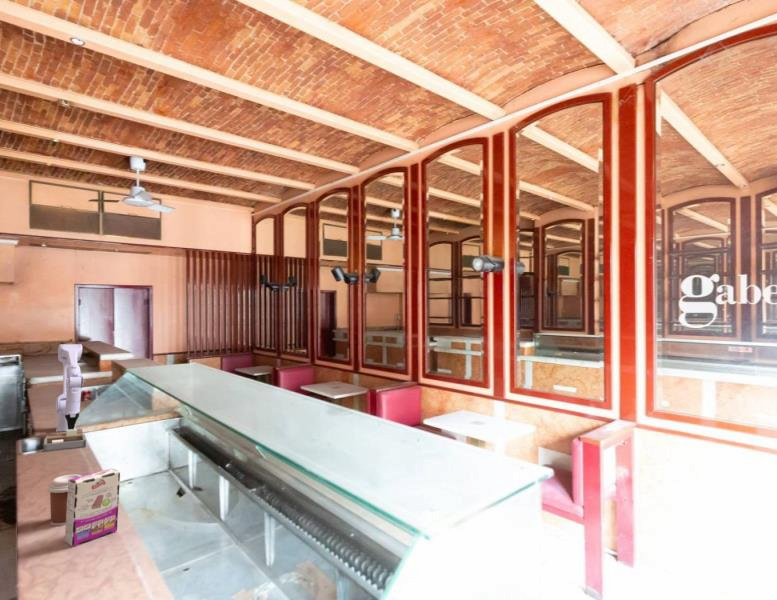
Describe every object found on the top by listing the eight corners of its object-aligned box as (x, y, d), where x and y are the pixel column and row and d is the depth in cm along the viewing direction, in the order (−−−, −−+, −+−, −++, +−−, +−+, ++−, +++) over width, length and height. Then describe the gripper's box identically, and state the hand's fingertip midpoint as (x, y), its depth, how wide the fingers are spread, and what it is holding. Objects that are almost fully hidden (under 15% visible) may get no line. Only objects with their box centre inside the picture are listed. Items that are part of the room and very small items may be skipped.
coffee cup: (42, 519, 128) (46, 477, 128) (80, 511, 134) (83, 470, 135) (46, 531, 121) (50, 486, 122) (86, 521, 127) (89, 479, 128)
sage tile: (65, 434, 209) (66, 429, 209) (76, 433, 211) (76, 428, 211) (66, 435, 206) (66, 431, 206) (76, 434, 208) (76, 430, 208)
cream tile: (52, 442, 194) (51, 447, 194) (63, 441, 197) (62, 445, 197) (52, 440, 198) (51, 444, 198) (63, 439, 200) (62, 443, 200)
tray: (43, 445, 198) (44, 438, 198) (84, 440, 207) (84, 434, 208) (43, 451, 189) (43, 444, 189) (85, 447, 198) (86, 440, 198)
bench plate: (45, 437, 210) (46, 432, 210) (81, 434, 218) (81, 429, 219) (45, 444, 199) (45, 439, 199) (82, 440, 207) (83, 435, 208)
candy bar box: (108, 526, 125) (112, 467, 126) (117, 531, 122) (121, 471, 123) (62, 542, 115) (67, 478, 116) (71, 548, 113) (76, 482, 114)
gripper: (62, 399, 218) (60, 427, 217) (63, 404, 206) (60, 433, 206) (80, 398, 222) (78, 425, 222) (81, 403, 211) (79, 432, 210)
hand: (70, 429), depth 214 cm, fingers closed
